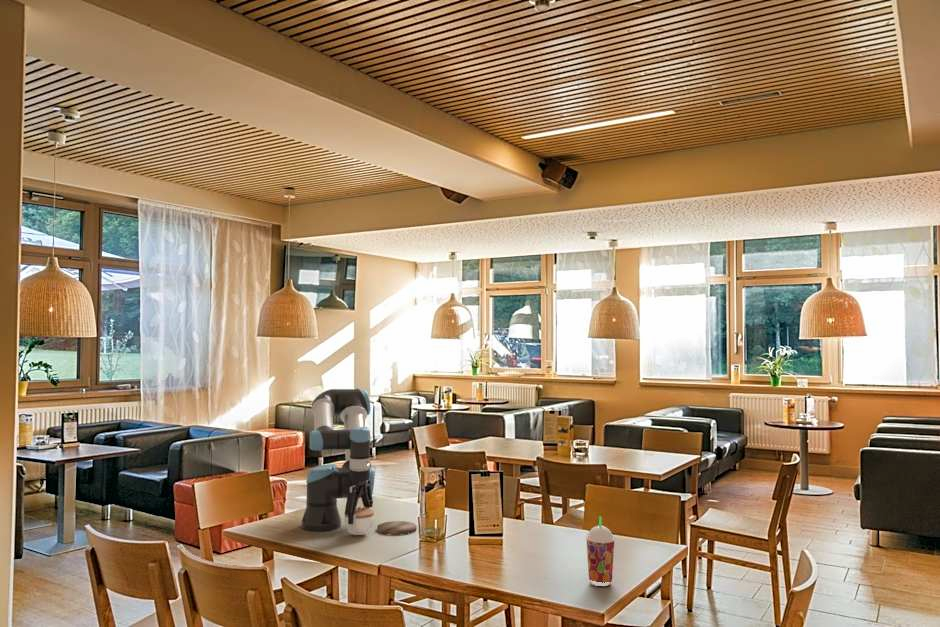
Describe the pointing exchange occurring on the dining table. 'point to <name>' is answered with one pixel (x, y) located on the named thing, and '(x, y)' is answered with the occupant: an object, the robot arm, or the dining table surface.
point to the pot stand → (396, 527)
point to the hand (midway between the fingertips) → (359, 528)
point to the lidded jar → (362, 520)
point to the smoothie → (600, 553)
